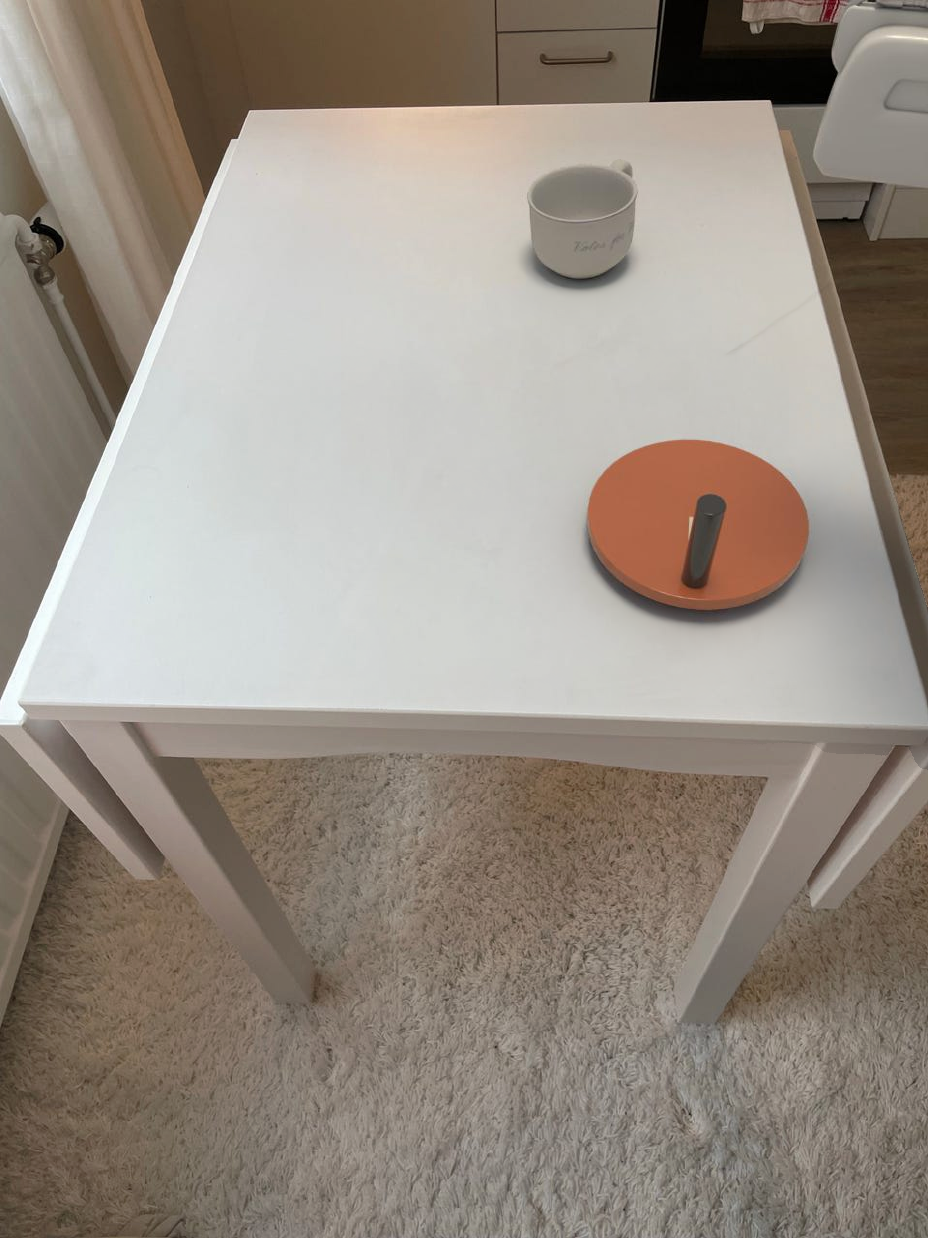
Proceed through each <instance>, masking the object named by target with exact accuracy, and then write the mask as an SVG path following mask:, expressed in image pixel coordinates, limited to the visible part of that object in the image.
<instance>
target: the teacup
mask: <svg viewBox="0 0 928 1238" xmlns="http://www.w3.org/2000/svg"><path fill="white" fill-rule="evenodd" d="M633 176H634V172H633V167H632V164H631V163H630V162H629V161H628V160H625V159H616V160H614V161H613V162H612V163H611V164H610V165H609V166H607V165H603V164H592V163H591V164H590V163H589V164H588V163H586V164H585V163H583V164H582V163H581V164H573V165H568V166H563V167H559V168H556V169H553V170H550V171H548V172H546V173H544V174H542V175H540V176H539V177H538V178H536V180H535V181H533V183H531V185H530V186H529V188H528V191H527V193H526V199H527V204H528V210H529V212H528V213H529V228H530V236H531V237H530V238H531V243H532V248H533V251H534V253H535V255H536V257H537V258H538V260H539V261H540V262H541V263H542V264H543V265H544V266H545V267H547V268H548V269H550V270H552V271H554V272H555V273H556V274H558V275H560V276H563V277H567V278H570V279H589V278H594V277H597V276H600V275H602V274H604V273H606V272H608V271H609V270H611V268H613V267H615V266H616V265H617V264H619V263H620V262H621V261H622V260H623V259H624V258H625V257H626V255H627V254H628V253H629V250H630V249H631V246H632V243H633V238H634V231H635V220H636V200H637V197H638V193H639V191H638V187H637V186H638V185H637V183H636V181H635V180H634V179H633Z"/></svg>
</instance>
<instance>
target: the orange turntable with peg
mask: <svg viewBox="0 0 928 1238" xmlns="http://www.w3.org/2000/svg"><path fill="white" fill-rule="evenodd" d="M586 528H587V533H588V534H587V535H588V538H589V542H590V544H591V546H592V549H593V551H594V552H595V554H596V556H597V558H598V559H599V561H600V562H601V564H602V565H603V566H604V567H605V569H606V570H607V571H608V572H609V573H610V574H611V575H612V576H613V577H614V578H615V579H617V580H618V581H619V582H621V583H622V584H623V585H624V586H625V587H627V588H629V589H631V590H632V591H634V592H635V593H637V594H639V595H641V596H643V597H646V598H648V599H650V600H653V601H655V602H658V603H661V604H664V605H668V606H673V607H677V608H682V609H690V610H702V611H703V610H704V611H711V610H713V611H714V610H725V609H726V610H727V609H731V608H736V607H737V608H738V607H742V606H745V605H748V604H751V603H754V602H756V601H758V600H761V599H763V598H765V597H767V596H768V595H771V594H772V593H774V592H775V591H776V590H778V589H780V587H781V586H783V585H784V584H785V583H786V582H787V581H788V580H789V579H790V578H791V577H792V576H793V574H795V572H796V570H797V568H798V567H799V566H800V564H801V561H802V559H803V556H804V553H805V550H806V548H807V545H808V541H809V534H810V520H809V515H808V511H807V508H806V506H805V503H804V500H803V498H802V497H801V495H800V492H799V491H798V490H797V489H796V487H795V486H794V485H793V483H792V482H791V481H790V480H789V479H788V478H787V477H786V476H785V475H784V474H783V473H782V472H781V471H780V470H778V468H776V467H775V466H774V465H772V464H771V463H769V462H768V461H766V460H764V459H763V458H761V457H760V456H757V455H755V454H753V453H751V452H750V451H747V450H745V449H742V448H739V447H737V446H733V445H731V444H730V445H729V444H726V443H722V442H717V441H712V440H703V439H671V440H665V441H658V442H655V443H650V444H648V445H644V446H642V447H638V448H636V449H633V450H632V451H630V452H627V453H626V454H624V455H622V456H621V457H619V458H618V459H617V460H615V461H614V462H612V463H611V464H610V465H609V466H608V467H607V468H606V469H605V470H604V471H603V473H602V474H601V475H600V476H599V477H598V479H597V480H596V482H595V484H594V485H593V487H592V490H591V493H590V495H589V499H588V504H587V514H586Z"/></svg>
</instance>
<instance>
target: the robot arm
mask: <svg viewBox="0 0 928 1238" xmlns="http://www.w3.org/2000/svg"><path fill="white" fill-rule="evenodd" d="M831 59H832V60H831V61H832V64H833V66H834V68H835V70H836V71H837V74H836V75H837V76H836V78H835V81H834V82H833V85H832V88H831V91H830V92H829V93H830V94H829V96H828V99H827V101H826V102H827V103H826V105H825V107H824V111H823V115H822V117H821V121H820V124H819V128H818V132H817V135H816V139H815V142H814V147H813V151H812V158H813V161H814V162H815V164H816V166H817V168H818V170H819V172H820V173H821V174H822V175H823V176H827V177H831V178H832V177H833V178H840V179H846V180H847V179H848V180H856V181H862V182H863V181H864V182H871V183H872V182H873V183H879V184H880V183H881V184H887V185H896V186H904V187H911V188H912V187H913V188H920V189H927V190H928V0H875V2H872V1H867V0H850V1H849V2H848V3H847V4H846V6H845V7H844V8H843V10H842V11H841V13H840V16H839V18H838V22H837V27H836V30H835V34H834V38H833V42H832V47H831Z"/></svg>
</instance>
